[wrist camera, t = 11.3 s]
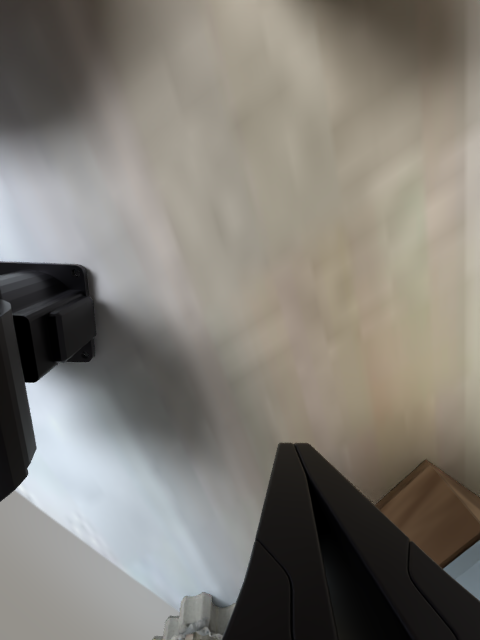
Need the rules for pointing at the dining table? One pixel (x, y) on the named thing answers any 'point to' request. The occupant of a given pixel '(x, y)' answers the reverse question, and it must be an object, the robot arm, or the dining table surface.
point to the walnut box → (434, 513)
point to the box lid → (467, 570)
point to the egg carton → (197, 620)
